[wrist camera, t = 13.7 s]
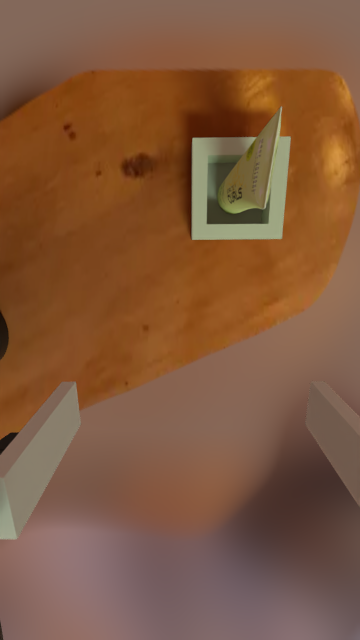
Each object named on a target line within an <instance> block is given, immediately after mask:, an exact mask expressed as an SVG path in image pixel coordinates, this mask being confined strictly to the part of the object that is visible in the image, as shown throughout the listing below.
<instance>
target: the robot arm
mask: <svg viewBox="0 0 360 640" xmlns="http://www.w3.org/2000/svg"><path fill="white" fill-rule="evenodd" d="M7 346H8V330H7V326H6V323H5V321H4V319H3V317H2V315H1V313H0V360H1V359H2V357H3V356H4V354H5V352H6V350H7ZM80 424H81V422H80V413H79V405H78V397H77V388H76V382H62V383H61V384H60V385H59V386H58V387H57V389H56V390H55V391H54V392H53V393H52V394H51V396H50V397H49V398H48V399H47V400H46V402H45V403H44V404H43V405H42V406H41V407H40V409H39V410H38V411H37V412H36V413H35V415H34V416H33V417H32V418H31V419H30V420H29V422H28V423H27V424H26V425H25V426H24V428H23V429H22V430H21V431H20V432H19V433H10V434H8V435H7V436H5V437H4V438H2V439H1V440H0V539H18V537H19V535H20V533H21V531H22V529H23V528H24V526H25V524H26V522H27V520H28V519H29V517H30V515H31V513H32V511H33V509H34V508H35V506H36V504H37V502H38V501H39V499H40V497H41V495H42V493H43V492H44V490H45V488H46V486H47V484H48V482H49V481H50V479H51V477H52V475H53V473H54V472H55V470H56V468H57V466H58V464H59V463H60V461H61V459H62V457H63V455H64V454H65V452H66V450H67V448H68V446H69V445H70V443H71V441H72V439H73V437H74V435H75V434H76V432H77V430H78V428H79V426H80ZM305 425H306V426H307V428H308V429H309V431H310V432H311V434H312V435H313V437H314V438H315V440H316V441H317V443H318V444H319V446H320V447H321V449H322V450H323V452H324V453H325V455H326V457H327V458H328V460H329V461H330V463H331V464H332V466H333V467H334V469H335V470H336V472H337V473H338V475H339V476H340V478H341V479H342V481H343V483H344V484H345V486H346V487H347V489H348V490H349V492H350V493H351V495H352V496H353V498H354V499H355V501H356V502H357V504H358V505H359V506H360V417H359V416H358V415H357V414H356V413H355V412H354V411H353V410H352V409H351V408H350V407H349V406H348V405H347V404H346V403H345V402H344V401H343V399H341V397H339V396H338V394H337V393H336V392H334V390H333V389H332V388H331V387H330V386H329V385H328V384H327V383H325V382H311V384H310V392H309V399H308V407H307V414H306V422H305ZM0 640H3V635H2V629H1V623H0Z"/></svg>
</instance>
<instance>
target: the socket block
mask: <svg viewBox="0 0 360 640" xmlns="http://www.w3.org/2000/svg"><path fill="white" fill-rule="evenodd" d="M256 138H257V137H222V138H192V148H191V239H192V240H198V239H282V230H283V219H284V208H285V196H286V185H287V174H288V162H289V151H290V140H291V137H279V143H278V149H277V155H276V160H275V166H274V172H273V177H272V183H271V189H270V194H269V198H268V201H267V203H266V208H265V209H259V208H251V209H247V210H245V211H242V212H240V213H237V214H229V213H226V212H225V211H223V210H222V209H221V207H220V206H219V204H218V200H217V194H218V190H219V188H220V186H221V184H222V183H223V182H224V180H225V179H226V177H227V176H228V175H229V173H230V172H231V171H232V169H233V168H234V167H235V165H236V164H237V163H238V161H239V160H240V159H241V157H242V156H243V154H244V153H245V152H246V151H247V149H248V148H249V147H250V145H251V144H252V143H253V141H254V140H255V139H256Z"/></svg>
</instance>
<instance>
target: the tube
mask: <svg viewBox="0 0 360 640" xmlns="http://www.w3.org/2000/svg"><path fill="white" fill-rule="evenodd" d="M281 111H282V107H280V108H279V110H278V111H277V113H276V114H275V115H274V116H273V117H272V118H271V120H270V121H269V122H268V123H267V125H266V126H265V127H264V129H263V130H262V131H261V132H260V134H259V135H258V136H257V138H256V139H255V140H254V141H253V143H252V144H251V145H250V147H249V148H248V149H247V151H246V152H245V153H244V154H243V156H242V157H241V159H240V160H239V161H238V163H237V164H236V165H235V167H234V168H233V169H232V171H231V172H230V173H229V175H228V176H227V177H226V179H225V180H224V182H223V183H222V184H221V186H220V188H219V190H218V194H217V200H218V204H219V206H220V207H221V209H222V210H223V211H225V212H226V213H229V214H237V213H240V212H242V211H245V210H247V209H251V208H259V209H265V208H266V203H267V201H268V198H269V194H270V189H271V183H272V177H273V172H274V166H275V160H276V155H277V149H278V143H279V136H280V126H281Z"/></svg>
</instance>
